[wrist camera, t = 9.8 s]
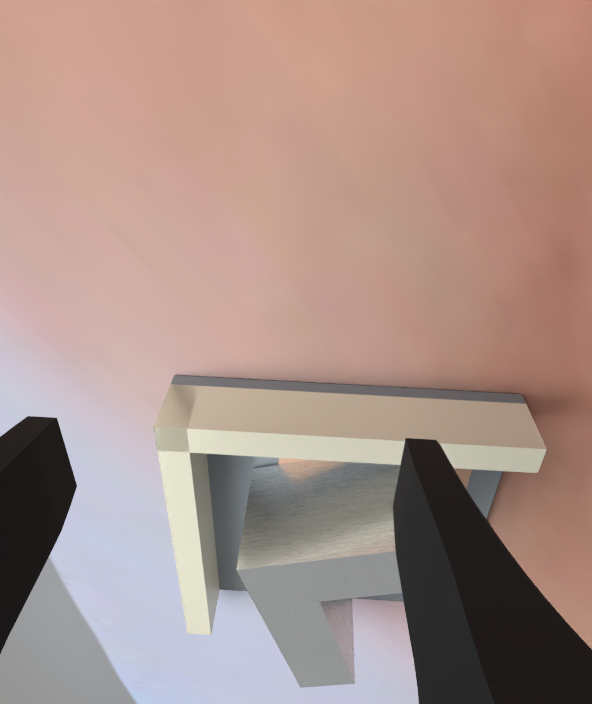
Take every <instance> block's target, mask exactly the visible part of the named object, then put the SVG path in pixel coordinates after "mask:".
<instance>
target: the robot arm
mask: <svg viewBox="0 0 592 704" xmlns="http://www.w3.org/2000/svg"><path fill="white" fill-rule="evenodd" d="M76 487H77V485H76V481H75V478H74V475H73V471H72V468H71V465H70V461H69V458H68V454H67V451H66V448H65V444H64V441H63V437H62V434H61V431H60V427H59V424H58V420H57V418H48V417H30V416H28V417H27V418H25V419H24V420H22V421H21V422H19V423H18V424H17V425H15V426H14V427H13V428H11V429H10V430H9V431H7V432H6V433H5V434H4V435H2V436H1V437H0V653H1V651H2V649H3V647H4V645H5V642H6V640H7V638H8V636H9V634H10V631H11V630H12V628H13V626H14V624H15V622H16V620H17V618H18V616H19V614H20V612H21V610H22V608H23V606H24V604H25V602H26V600H27V598H28V596H29V594H30V592H31V590H32V588H33V586H34V585H35V583H36V580H37V579H38V577H39V575H40V573H41V571H42V569H43V566H44V565H45V563H46V560H47V559H48V557H49V555H50V553H51V551H52V549H53V547H54V545H55V543H56V541H57V539H58V536H59V534H60V532H61V530H62V527H63V524H64V522H65V519H66V516H67V514H68V511H69V508H70V505H71V502H72V499H73V496H74V493H75V490H76ZM393 518H394V536H395V551H396V558H397V565H398V571H399V576H400V582H401V588H402V594H403V600H404V606H405V611H406V617H407V623H408V629H409V635H410V640H411V646H412V652H413V658H414V664H415V671H416V679H417V686H418V696H419V704H592V650H591V648H590V647H589V646H588V645H587V644H586V643H585V642H584V641H583V640H582V639H581V638H580V636H579V635H578V634H577V633H576V632H575V631H574V630H573V629H572V628H571V627H570V626H569V624H568V623H567V622H566V621H565V620H564V619H563V618H562V616H561V615H560V614H559V613H558V612H557V611H556V610H555V608H554V607H553V606H552V605H551V604H550V603H549V601H548V600H547V599H546V598H545V597H544V596H543V594H542V593H541V592H540V591H539V589H538V588H537V587H536V586H535V585H534V583H533V582H532V581H531V580H530V578H529V577H528V576H527V575H526V573H525V572H524V571H523V569H522V568H521V567H520V565H519V564H518V563H517V561H516V560H515V559H514V558H513V556H512V555H511V554H510V552H509V551H508V550H507V548H506V547H505V545H504V544H503V543H502V541H501V540H500V539H499V537H498V536H497V534H496V533H495V531H494V530H493V528H492V527H491V526H490V524H489V523H488V521H487V520H486V518H485V517H484V515H483V514H482V512H481V511H480V509H479V508H478V507H477V505H476V503H475V502H474V500H473V499H472V497H471V496H470V494H469V493H468V491H467V489H466V488H465V486H464V484H463V483H462V481H461V480H460V478H459V476H458V475H457V473H456V471H455V470H454V468H453V466H452V465H451V463H450V461H449V459H448V458H447V456H446V454H445V452H444V450H443V449H442V447H441V445H440V444H439V443H438V441H437V440H431V439H414V438H406V439H405V444H404V449H403V455H402V460H401V465H400V470H399V476H398V481H397V486H396V491H395V496H394V502H393Z"/></svg>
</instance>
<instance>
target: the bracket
mask: <svg viewBox="0 0 592 704" xmlns="http://www.w3.org/2000/svg"><path fill="white" fill-rule="evenodd" d="M399 470H400V465H391V464H374V463H357V462H340V461H323V460H305V461H298V462H292V463H285V464H279V465H273V466H266V467H260V468H253V470H252V477H251V483H250V489H249V495H248V501H247V507H246V513H245V519H244V525H243V532H242V538H241V544H240V550H239V556H238V562H237V568H236V571H237V572H238V574H239V576H240V578H241V580H242V582H243V583H244V585H245V587H246V589H247V591H248V592H249V594H250V596H251V598H252V600H253V602H254V603H255V605H256V607H257V609H258V611H259V613H260V614H261V616H262V618H263V620H264V622H265V623H266V625H267V627H268V629H269V631H270V633H271V634H272V636H273V638H274V640H275V642H276V644H277V645H278V647H279V649H280V651H281V653H282V654H283V656H284V658H285V660H286V662H287V664H288V665H289V667H290V669H291V671H292V673H293V675H294V676H295V678H296V680H297V682H298V684H299V685H300V687H314V686H328V685H341V684H355V672H354V641H353V610H352V598H359V597H368V596H378V595H388V594H397V593H402V588H401V582H400V576H399V571H398V565H397V558H396V551H395V536H394V518H393V502H394V496H395V491H396V486H397V481H398V476H399Z"/></svg>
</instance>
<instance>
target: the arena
mask: <svg viewBox="0 0 592 704" xmlns="http://www.w3.org/2000/svg"><path fill="white" fill-rule="evenodd" d="M154 432H155V438H156V444H157V450H158V456H159V462H160V468H161V474H162V481H163V487H164V493H165V499H166V505H167V511H168V517H169V523H170V530H171V536H172V542H173V548H174V554H175V560H176V566H177V572H178V578H179V585H180V591H181V597H182V603H183V609H184V615H185V621H186V627H187V633H190V634H204V635H211V632H212V627H213V622H214V616H215V611H216V605H217V600H218V595H219V589H223V590H238V591H247V589H246V587H245V585H244V583H243V582H242V580H241V578H240V576H239V574H238V572H237V571H236V568H237V562H238V556H239V550H240V544H241V538H242V532H243V525H244V519H245V513H246V507H247V501H248V495H249V489H250V483H251V477H252V470H253V468H260V467H266V466H273V465H279V464H285V463H292V462H298V461H305V460H323V461H340V462H357V463H374V464H391V465H401V460H402V455H403V449H404V444H405V439H406V438H414V439H431V440H437V441H438V443H439V444H440V445H441V447H442V449H443V450H444V452H445V454H446V456H447V458H448V459H449V461H450V463H451V465H452V466H453V468H454V470H455V471H456V473H457V475H458V476H459V478H460V480H461V481H462V483H463V484H464V486H465V488H466V489H467V491H468V493H469V494H470V496H471V497H472V499H473V500H474V502H475V503H476V505H477V507H478V508H479V509H480V511H481V512H482V514H483V515H484V517H485V518H486V519H487V516H488V513H489V510H490V507H491V504H492V502H493V499H494V496H495V493H496V490H497V487H498V484H499V481H500V478H501V475H502V473H503V471H510V472H527V473H538V471H539V468H540V466H541V463H542V461H543V458H544V456H545V453H546V451H547V448H546V446H545V444H544V441H543V439H542V437H541V435H540V433H539V431H538V428H537V426H536V424H535V422H534V420H533V418H532V415H531V413H530V411H529V409H528V407H527V404H526V402H525V400H524V398H523V396H522V394H510V393H492V392H473V391H455V390H437V389H418V388H400V387H381V386H363V385H345V384H326V383H308V382H290V381H271V380H253V379H235V378H216V377H198V376H180V375H174V377H173V380H172V382H171V385H170V387H169V390H168V392H167V395H166V397H165V400H164V402H163V405H162V407H161V410H160V412H159V415H158V417H157V420H156V422H155V425H154ZM358 599H373V600H388V601H403V602H404V600H403V594H402V593H397V594H388V595H378V596H368V597H359V598H358Z"/></svg>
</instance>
